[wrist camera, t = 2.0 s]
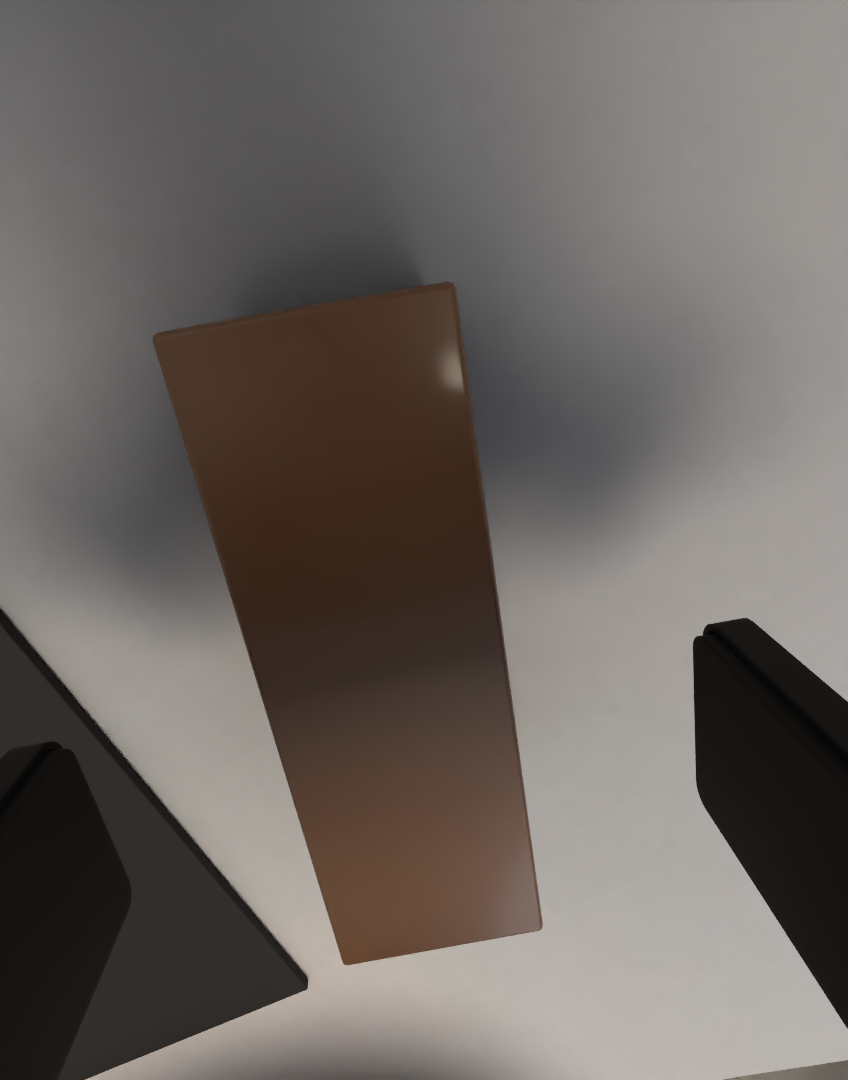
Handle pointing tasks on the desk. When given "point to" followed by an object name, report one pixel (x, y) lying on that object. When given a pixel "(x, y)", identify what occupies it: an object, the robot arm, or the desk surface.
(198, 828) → the desk surface
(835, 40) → the desk surface
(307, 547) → the bar
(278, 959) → the black mat
